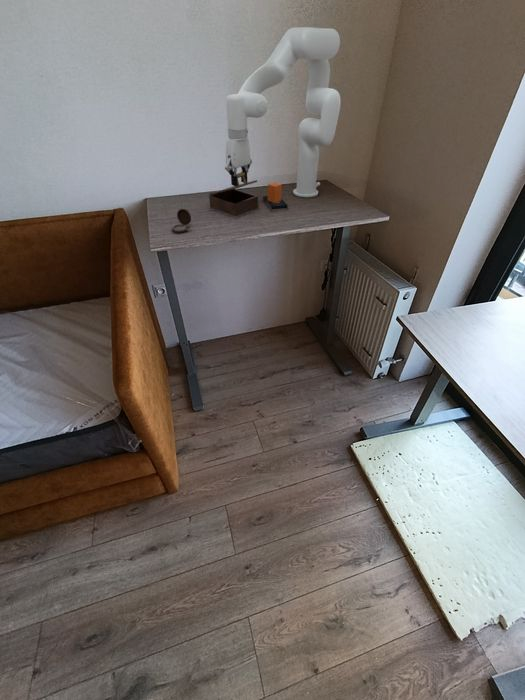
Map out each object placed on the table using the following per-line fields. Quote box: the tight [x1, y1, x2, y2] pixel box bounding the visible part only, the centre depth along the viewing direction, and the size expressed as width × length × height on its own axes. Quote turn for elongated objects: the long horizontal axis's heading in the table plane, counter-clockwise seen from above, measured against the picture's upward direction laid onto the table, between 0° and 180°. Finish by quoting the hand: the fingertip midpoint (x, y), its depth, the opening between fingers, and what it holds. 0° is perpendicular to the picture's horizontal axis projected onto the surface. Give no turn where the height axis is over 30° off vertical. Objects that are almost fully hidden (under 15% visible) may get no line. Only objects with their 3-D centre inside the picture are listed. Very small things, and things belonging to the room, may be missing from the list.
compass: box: [171, 208, 192, 234], centre depth 132 cm, size 8×8×7 cm
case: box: [208, 188, 259, 217], centre depth 150 cm, size 16×14×6 cm
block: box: [267, 182, 283, 203], centre depth 153 cm, size 4×4×7 cm
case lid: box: [208, 171, 258, 196], centre depth 145 cm, size 17×14×5 cm
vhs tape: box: [262, 195, 289, 210], centre depth 156 cm, size 8×14×2 cm, turn 16°
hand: (239, 183), depth 143 cm, fingers closed on case lid, 5 cm apart
